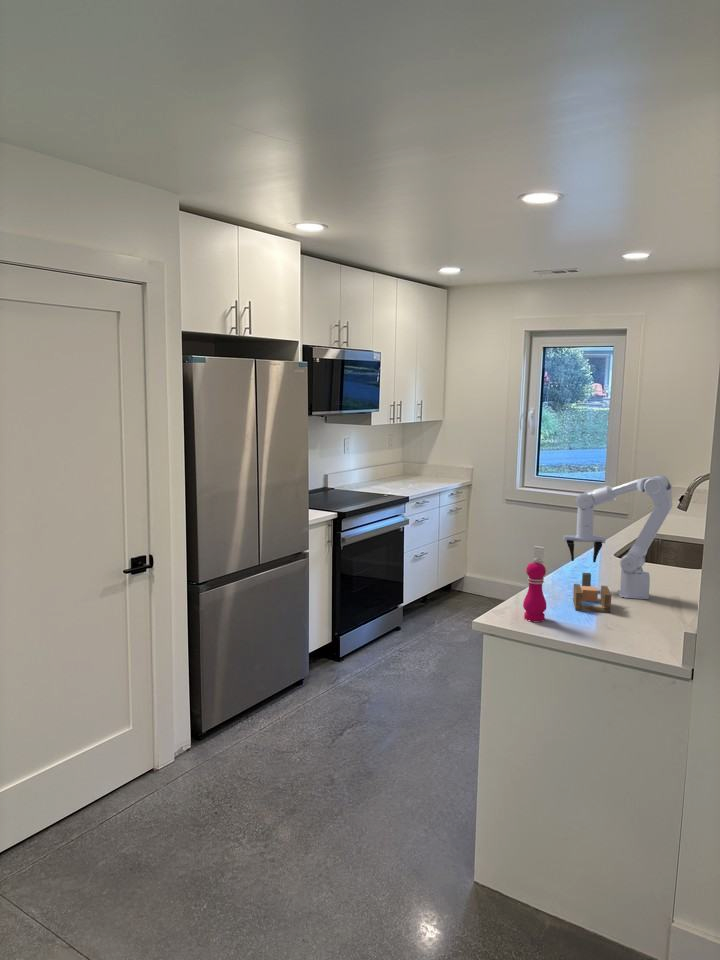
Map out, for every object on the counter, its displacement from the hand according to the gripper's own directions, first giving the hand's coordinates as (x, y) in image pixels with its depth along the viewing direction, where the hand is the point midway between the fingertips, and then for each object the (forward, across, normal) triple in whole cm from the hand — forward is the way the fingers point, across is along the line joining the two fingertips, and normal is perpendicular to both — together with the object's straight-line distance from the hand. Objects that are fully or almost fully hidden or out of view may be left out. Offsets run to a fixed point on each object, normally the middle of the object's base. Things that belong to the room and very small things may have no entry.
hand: (583, 561), depth 252 cm
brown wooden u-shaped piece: (+10, -1, +23) cm, 25 cm away
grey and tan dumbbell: (+10, -1, +10) cm, 14 cm away
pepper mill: (+10, +18, +41) cm, 46 cm away
